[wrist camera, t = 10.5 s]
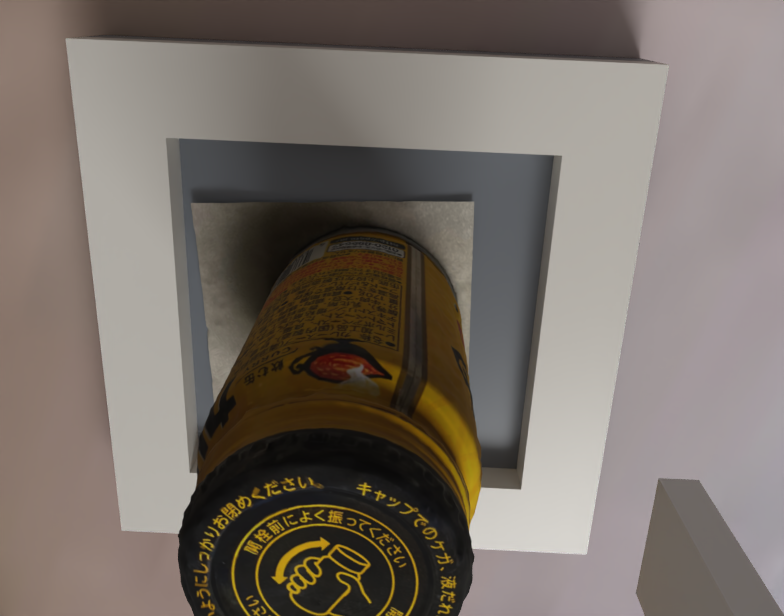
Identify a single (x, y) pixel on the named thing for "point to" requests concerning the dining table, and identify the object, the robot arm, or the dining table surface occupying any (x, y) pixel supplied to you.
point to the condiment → (334, 411)
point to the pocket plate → (374, 183)
